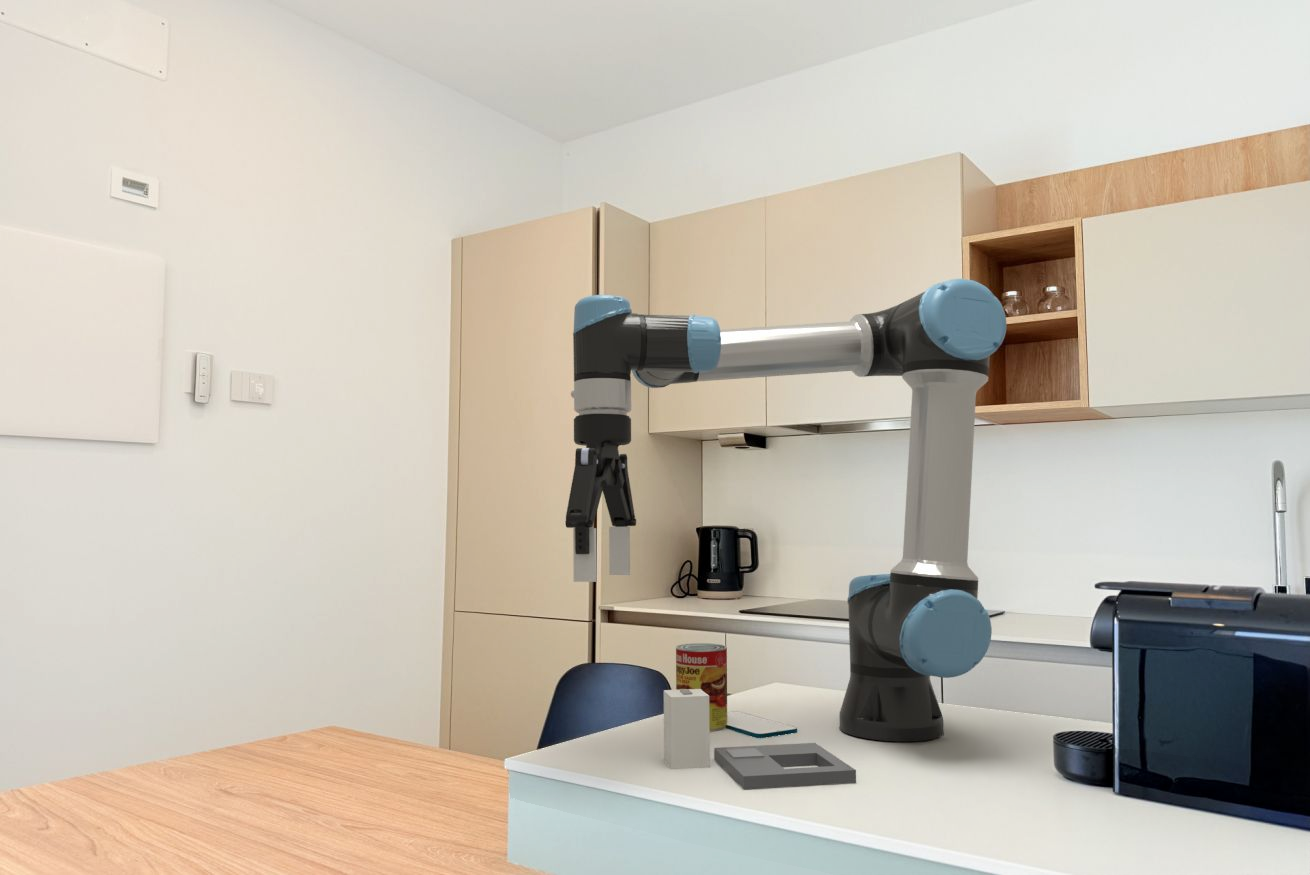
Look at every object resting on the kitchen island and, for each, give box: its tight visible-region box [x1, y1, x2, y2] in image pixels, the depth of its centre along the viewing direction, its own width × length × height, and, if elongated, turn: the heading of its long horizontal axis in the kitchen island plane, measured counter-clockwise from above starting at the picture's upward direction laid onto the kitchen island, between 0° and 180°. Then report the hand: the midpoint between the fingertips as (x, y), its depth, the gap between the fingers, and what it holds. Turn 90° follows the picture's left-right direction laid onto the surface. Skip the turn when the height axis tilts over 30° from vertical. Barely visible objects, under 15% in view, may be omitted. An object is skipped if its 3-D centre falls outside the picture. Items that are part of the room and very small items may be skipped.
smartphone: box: [725, 710, 798, 739], centre depth 144 cm, size 8×1×16 cm
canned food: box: [675, 642, 728, 732], centre depth 145 cm, size 8×8×12 cm
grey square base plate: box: [713, 742, 857, 790], centre depth 118 cm, size 14×14×2 cm
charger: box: [663, 689, 711, 770], centre depth 123 cm, size 5×5×9 cm
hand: (603, 578), depth 121 cm, fingers open, 13 cm apart
